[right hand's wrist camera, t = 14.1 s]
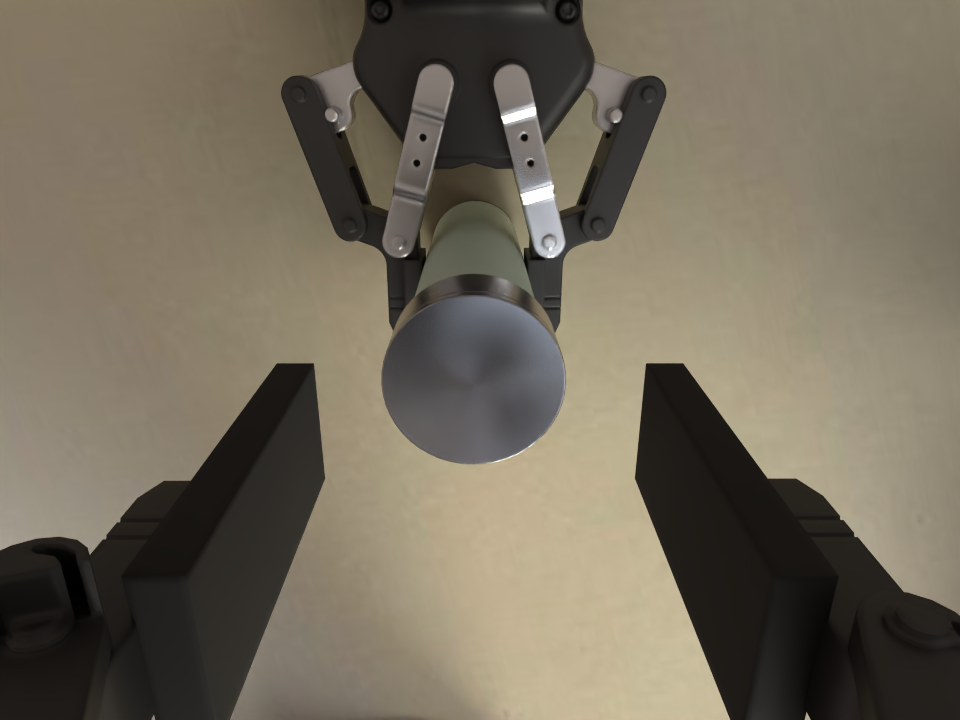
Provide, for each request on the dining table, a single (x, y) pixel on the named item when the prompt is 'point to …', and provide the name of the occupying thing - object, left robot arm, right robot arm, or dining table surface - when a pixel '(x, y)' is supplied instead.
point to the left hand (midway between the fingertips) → (474, 340)
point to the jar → (475, 246)
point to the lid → (473, 370)
